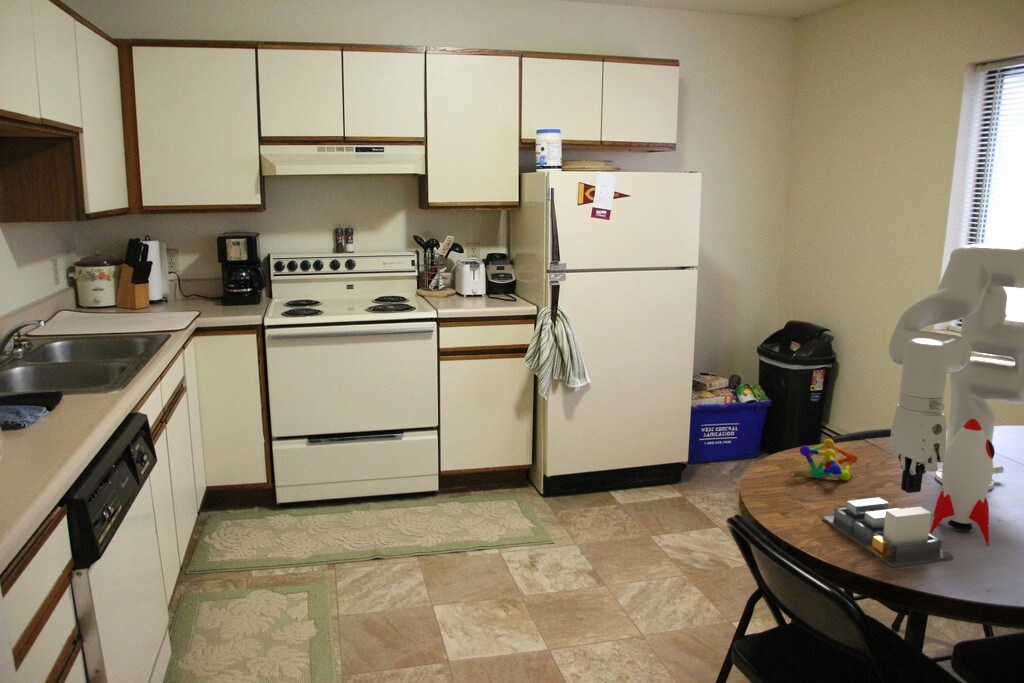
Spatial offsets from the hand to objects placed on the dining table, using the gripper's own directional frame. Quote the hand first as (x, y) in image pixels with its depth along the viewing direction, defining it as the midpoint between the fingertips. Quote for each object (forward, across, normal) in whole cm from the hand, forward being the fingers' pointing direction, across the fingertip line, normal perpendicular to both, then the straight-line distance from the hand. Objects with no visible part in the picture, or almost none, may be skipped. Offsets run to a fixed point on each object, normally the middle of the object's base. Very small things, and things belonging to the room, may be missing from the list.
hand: (910, 490), depth 150 cm
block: (+12, 0, 0) cm, 12 cm away
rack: (+13, +6, 0) cm, 14 cm away
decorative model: (+13, +39, -10) cm, 42 cm away
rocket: (+13, +5, -18) cm, 23 cm away
